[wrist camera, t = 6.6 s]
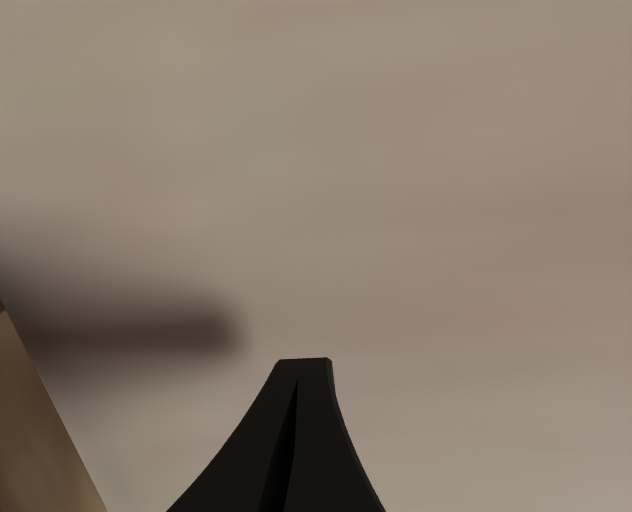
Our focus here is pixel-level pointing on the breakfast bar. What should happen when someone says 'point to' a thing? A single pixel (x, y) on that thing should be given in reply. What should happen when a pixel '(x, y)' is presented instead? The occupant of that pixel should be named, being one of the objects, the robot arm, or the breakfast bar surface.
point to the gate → (35, 440)
